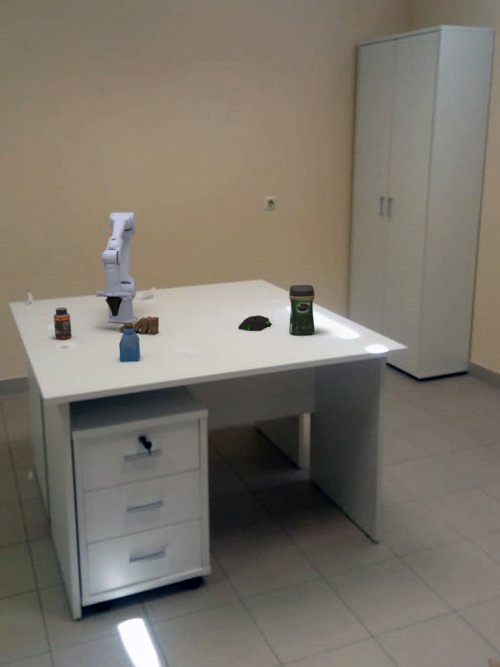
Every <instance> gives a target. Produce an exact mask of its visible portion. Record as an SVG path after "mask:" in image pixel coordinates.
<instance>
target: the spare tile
mask: <svg viewBox="0 0 500 667" xmlns="http://www.w3.org/2000/svg"><path fill="white" fill-rule="evenodd" d="M137 322H138V320H137V319H135V320H133V321H131V322H129V323H132V324H133V326H134V325H135V324H136V323H137ZM118 329H119V331H120V332H121V333H122V334H123V333H125V332H124V325H122V326H120V327H119V328H118Z"/></svg>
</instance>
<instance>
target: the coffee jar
mask: <svg viewBox="0 0 500 667" xmlns="http://www.w3.org/2000/svg"><path fill="white" fill-rule="evenodd" d="M315 296H316V295H315V290H314V286H313V285H311V284H297V285H296V284H295V285H294V284H293V285H291V286H290V287H289V294H288V298H289V300H290V315H289V324H288V325H289V326H288V330H289V331H288V332H289V334H290V335H294V336H308V335H313V334H314V333H315V321H314V320H315V319H314V306H313V305H314V304H313V303H314V300H315V298H316V297H315Z"/></svg>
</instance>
